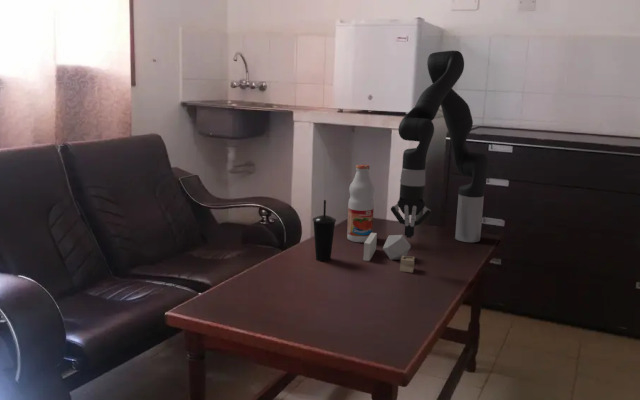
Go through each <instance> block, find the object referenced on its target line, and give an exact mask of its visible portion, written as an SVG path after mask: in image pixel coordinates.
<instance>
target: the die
mask: <svg viewBox="0 0 640 400" xmlns="http://www.w3.org/2000/svg"><path fill="white" fill-rule="evenodd" d="M411 247H412V246H411V244H410V242H409V241H408V240H407V239H406V238H405V235H403V234H395V235H394V234H391V235H389V234H388V237H387V238H386V240H385V242H384V245H383V246H382V250H383V251H384V252H385V254H386V255H387V257H388V258H389V260H390V261H395V260H401V257H402V256H408V254H409V251H410V249H411Z"/></svg>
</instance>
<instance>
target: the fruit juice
mask: <svg viewBox="0 0 640 400" xmlns="http://www.w3.org/2000/svg"><path fill="white" fill-rule="evenodd" d="M369 170H370V165H369V164H365V163H359V164H358V163H357V164H356V165H355V171H356V172H355V175H354V177H353V180H352V182H351V183H350V185H349V188H348V190H349V192H348V193H349V199H348V203H347V204H348V205H347V226H346V227H347V230H346V237H347V240H348V241H350V242H354V243H365V241H366V240H367V238H368V237H369V235H370V234H371V233H374V232H373V227H374V211H375V210H374V209H375V208H374V207H375V204H374V198H373V197H374V193H375V186H374V184H373V182H372V180H371V177H370V173H369Z"/></svg>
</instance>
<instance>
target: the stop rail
mask: <svg viewBox="0 0 640 400" xmlns="http://www.w3.org/2000/svg"><path fill="white" fill-rule="evenodd" d="M377 233H378V232H372V233H371V234H370V235H369V237H368V238H367V240H366V241H365V242H363V258H362V259H363V261H365V262H370V261H371V259H372V257H373V256H374V254H375V252H376V250H377V239H378V238H377V237H378V236H377V235H378V234H377Z"/></svg>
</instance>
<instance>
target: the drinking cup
mask: <svg viewBox="0 0 640 400" xmlns="http://www.w3.org/2000/svg"><path fill="white" fill-rule="evenodd" d="M326 209H327V200H326V199H324V200H323V214H321V215H317V216H315V217H313V218H312V222H313V233H314V236H313V237H314V248H315V249H314V250H315V260H316V261H319V262H328V261H330V260H331V258H332V250H333V249H332V248H333V241H334V236H335V235H334V233H335V226H336V221H337V220H336V218H334V217H332V216H331V215H326V214H327V213H326V211H327V210H326Z"/></svg>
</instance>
